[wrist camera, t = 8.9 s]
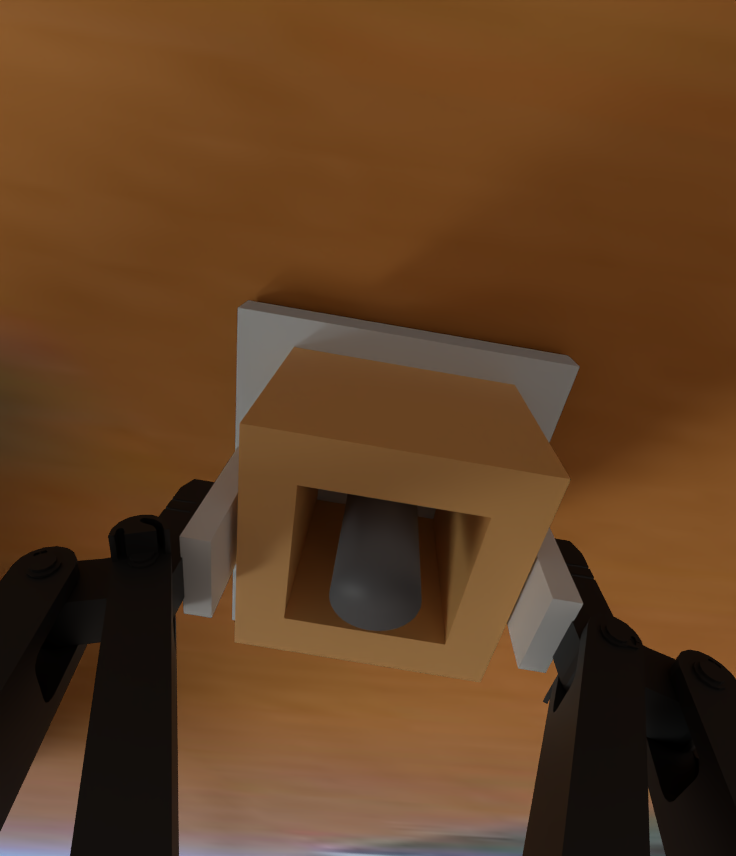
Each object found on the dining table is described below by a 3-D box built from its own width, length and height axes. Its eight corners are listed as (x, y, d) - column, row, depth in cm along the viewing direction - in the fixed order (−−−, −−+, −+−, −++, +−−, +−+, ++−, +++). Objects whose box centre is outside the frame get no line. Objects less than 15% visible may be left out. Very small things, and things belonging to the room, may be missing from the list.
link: (279, 521, 20) (234, 642, 14) (293, 346, 16) (239, 422, 11) (459, 551, 20) (480, 682, 14) (515, 384, 16) (571, 479, 11)
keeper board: (239, 601, 24) (168, 777, 17) (248, 300, 16) (126, 383, 9) (460, 637, 24) (485, 828, 17) (568, 355, 17) (697, 480, 9)
